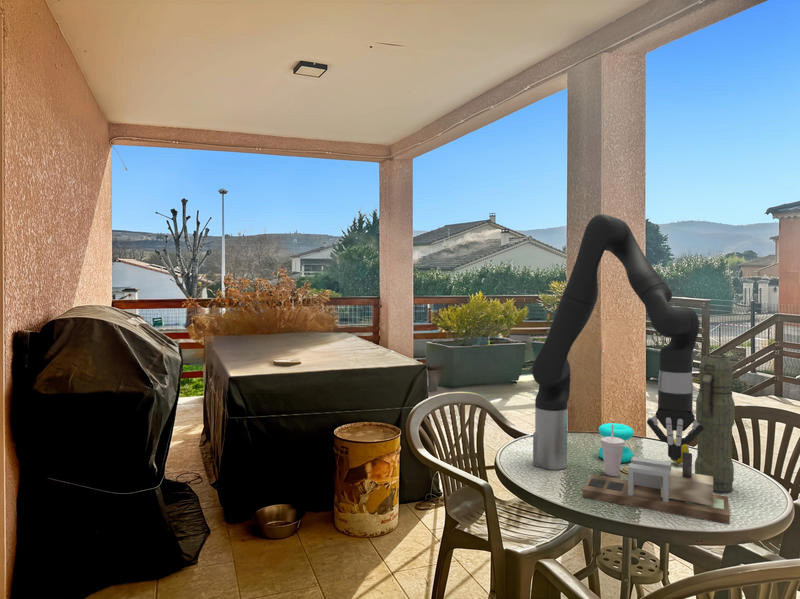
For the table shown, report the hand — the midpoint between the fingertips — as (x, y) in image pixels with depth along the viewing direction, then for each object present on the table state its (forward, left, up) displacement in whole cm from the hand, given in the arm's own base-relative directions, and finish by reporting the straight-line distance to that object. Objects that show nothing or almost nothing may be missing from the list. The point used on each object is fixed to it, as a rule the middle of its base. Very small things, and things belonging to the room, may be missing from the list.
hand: (674, 459), depth 134 cm
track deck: (-4, 0, -11) cm, 12 cm away
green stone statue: (+9, +17, -11) cm, 22 cm away
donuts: (-17, +29, -11) cm, 36 cm away
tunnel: (-5, 0, -9) cm, 11 cm away
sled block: (+3, 0, -9) cm, 9 cm away
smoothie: (-16, +15, -11) cm, 25 cm away
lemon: (0, +32, -11) cm, 34 cm away
